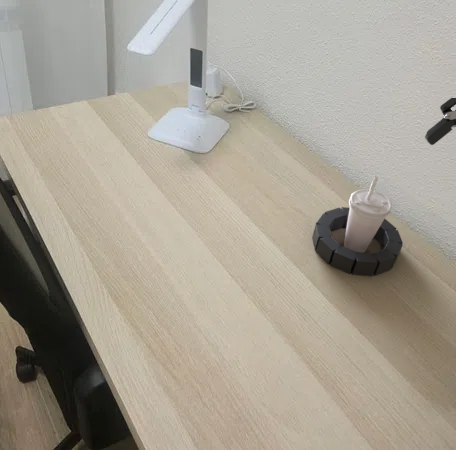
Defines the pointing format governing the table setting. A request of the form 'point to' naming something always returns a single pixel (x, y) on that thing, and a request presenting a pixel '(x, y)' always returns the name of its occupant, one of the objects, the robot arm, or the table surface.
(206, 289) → the table surface
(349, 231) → the smoothie
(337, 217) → the tire
